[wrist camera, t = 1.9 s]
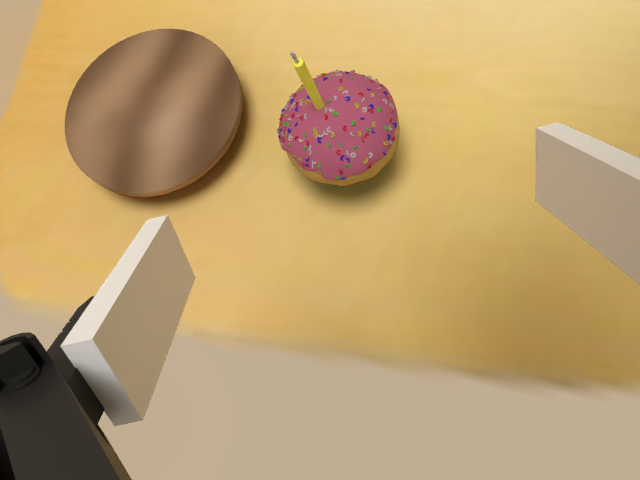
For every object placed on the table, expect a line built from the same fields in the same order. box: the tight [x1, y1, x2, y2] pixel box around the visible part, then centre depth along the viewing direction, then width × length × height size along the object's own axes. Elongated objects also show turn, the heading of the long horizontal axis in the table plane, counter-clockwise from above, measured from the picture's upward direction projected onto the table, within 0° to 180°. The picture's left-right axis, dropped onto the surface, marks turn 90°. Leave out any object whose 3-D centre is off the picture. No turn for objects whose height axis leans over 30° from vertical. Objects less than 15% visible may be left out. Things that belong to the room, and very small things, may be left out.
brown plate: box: [65, 29, 243, 197], centre depth 37 cm, size 15×15×3 cm
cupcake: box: [277, 51, 399, 186], centre depth 30 cm, size 9×8×12 cm
